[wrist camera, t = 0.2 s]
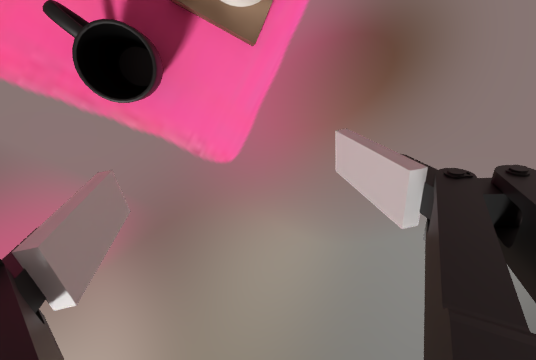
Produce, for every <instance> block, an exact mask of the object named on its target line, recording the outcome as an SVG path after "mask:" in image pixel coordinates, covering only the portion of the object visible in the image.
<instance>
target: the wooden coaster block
mask: <svg viewBox="0 0 536 360" xmlns="http://www.w3.org/2000/svg"><path fill="white" fill-rule="evenodd" d="M171 1H172V2H174V3H176V4H177V5H179V6H181V7H183V8H185V9H186V10H188V11H190V12H192V13H194V14H195V15H197V16H199V17H201V18H203V19H204V20H206V21H208V22H210V23H212V24H213V25H215V26H217V27H219V28H221V29H222V30H224V31H226V32H228V33H230V34H231V35H233V36H235V37H237V38H239V39H240V40H242V41H244V42H246V43H248V44H249V45H251V46H254V45H255V43H256V41H257V38H258V36H259V33H260V31H261V28H262V26H263V23H264V21H265V18H266V16H267V14H268V11H269V9H270V6H271V4H272V1H273V0H171Z"/></svg>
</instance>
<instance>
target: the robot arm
mask: <svg viewBox="0 0 536 360" xmlns="http://www.w3.org/2000/svg"><path fill="white" fill-rule="evenodd" d="M335 139H336V140H335V144H336V146H335V147H336V172H337V173H338V174H339V175H341V176H342V177H343V178H344V179H345V180H346V181H348V182H349V183H350V184H351V185H352V186H353V187H354V188H356V189H357V190H358V191H359V192H360V193H361V194H362V195H364V196H365V197H366V198H367V199H368V200H369V201H370V202H372V203H373V204H374V205H375V206H376V207H377V208H378V209H380V210H381V211H382V212H383V213H384V214H385V215H386V216H388V217H389V218H390V219H391V220H392V221H393V222H394V223H396V224H397V225H398V226H399V227H400V228H401V229H404V228H409V227H413V226H417V225H418V223H419V217H420V213H421V214H422V215H424V216H425V217H427V222H426V228H425V233H424V238H423V239H424V240H425V241H426V245H425V313H424V317H425V318H424V360H536V334H533V333H531V332H530V331H529V328H528V325H527V323H526V320H525V317H524V314H523V311H522V308H521V305H520V302H519V300H518V297H517V293H516V291H515V288H514V285H513V282H512V279H511V276H510V273H509V270H508V267H507V265H508V266H509V267H510V269H511V270H512V272H513V273H514V274H515V276H516V277H517V278H518V280H519V281H520V282H521V284H522V285H523V286H524V288H525V289H526V290H527V292H528V293H529V295H530V296H531V297H532V299H533V300H534V301H535V303H536V170H534V169H531V168H527V167H526V166H520V165H503V166H498V167H496V168H495V170H494V173H493V177H492V178H477V177H476V175H475V174H473V173H471V172H469V171H466V170H463V169H457V168H444V169H440V170H437V169H435V168H432V167H430V166H428V165H426V164H424V163H421V162H420V161H418V160H414V159H413V158H411V157H409V156H407V155H404V154H399V153H397V152H395V151H393V150H391V149H389V148H387V147H385V146H382V145H380V144H378V143H376V142H374V141H372V140H370V139H368V138H366V137H364V136H362V135H360V134H357V133H355V132H353V131H351V130H349V129H342V130H336V131H335ZM129 213H130V209H129V207H128V205H127V202H126V200H125V198H124V195H123V193H122V191H121V188H120V186H119V184H118V181H117V179H116V177H115V174H114V172H113V170H109V171H103V172H98V173H97V174H96V175H95V176H94V177H93V178H92V179H90V180H89V181H88V182H87V183H86V184H85V185H84V186H83V187H82V188H81V189H80V190H79V191H77V192H76V193H75V194H74V195H73V196H72V197H71V198H70V199H69V200H68V201H67V202H66V203H65V204H63V205H62V206H61V207H60V208H59V209H58V210H57V211H56V212H55V213H54V214H53V215H52V216H50V217H49V218H48V219H47V220H46V221H45V222H44V223H43V224H42V225H41V226H40V227H38V228H36V229H35V230H34V231H33V232H32V233H31V234H30V235H28V236H27V238H25V239H24V240H23V241H22V242H21V243H20V245H18V246H16V247H15V248H14V249H13V250H12V251H11V252H10V253H9V254H8V255H7V256H6V257H4V258H3V259H2V260H1V259H0V360H64V358H63V356H62V354H61V351H60V349H59V347H58V345H57V343H56V341H55V338H54V336H53V334H52V332H51V330H50V328H49V325H48V323H47V321H46V319H45V317H44V315H43V314H42V313H41V311H40V310H39V308H40V306H41V305H42V304H43V302H44V301H45V300H47V302H48V303H49V305H51V307H52V309H53V310H54V311H55V310H59V309H64V308H68V307H72V306H76V305H77V303H78V302H79V300H80V299H81V297H82V295H83V293H84V292H85V290H86V288H87V286H88V285H89V283H90V281H91V279H92V278H93V276H94V274H95V272H96V271H97V269H98V267H99V265H100V264H101V262H102V260H103V258H104V257H105V255H106V253H107V252H108V250H109V248H110V246H111V245H112V243H113V241H114V239H115V238H116V236H117V234H118V232H119V231H120V229H121V227H122V225H123V224H124V222H125V220H126V218H127V217H128V215H129Z"/></svg>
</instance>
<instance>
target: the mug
mask: <svg viewBox="0 0 536 360" xmlns="http://www.w3.org/2000/svg"><path fill="white" fill-rule="evenodd" d="M43 11H44V12H45V14H46V15H47V16H48V17H49V18H50V19H52V20H53V21H54V22H55V23H56V24H58V25H59V26H60V27H61V28H63V29H64V30H65V31H67V32H68V33H69V34H70V35H72V36H73V37H74V38H75V39H74V44H73V48H72V52H73V61H74V65H75V68H76V70H77V72H78V74H79V76H80V78H81V79H82V80H83V82H84V83H85V84H86V85H87V86H88V87H89V88H90V89H91V90H92V91H93V92H94V93H96V94H98V95H99V96H101V97H102V98H105V99H107V100H110V101H113V102H118V103H130V102H134V101H138V100H141V99H144V98H146V97H148V96H150V95H151V94H152V93H153V92H154V91H155V90H156V89H157V88H158V86H159V84H160V82H161V79H162V75H163V67H162V61H161V58H160V55H159V53H158V51H157V50H156V48H155V46H154V45H153V44H152V43H151V42H150V40H149V39H148V38H147V37H146V36H144V35H143V34H142V33H140V32H139V31H138V30H136V29H135V28H133V27H131V26H129V25H127V24H125V23H123V22H120V21H117V20H113V19H100V20H95V21H92V22H90V23H88V22H87V21H85V20H84V19H83V18H81V17H80V16H78V15H77V14H75V13H74V12H72V11H71V10H69V9H68V8H66V7H65V6H63V5H61V4H60V3H58V2H56V1H53V0H48V1H46V2H45V3H44V5H43Z"/></svg>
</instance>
